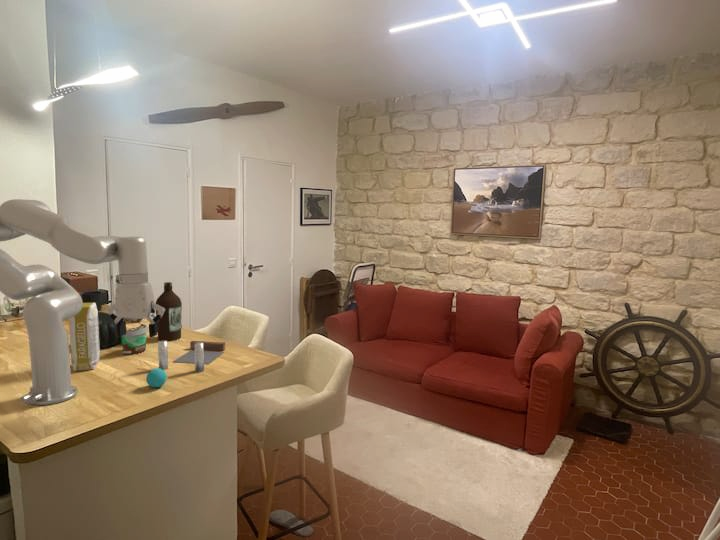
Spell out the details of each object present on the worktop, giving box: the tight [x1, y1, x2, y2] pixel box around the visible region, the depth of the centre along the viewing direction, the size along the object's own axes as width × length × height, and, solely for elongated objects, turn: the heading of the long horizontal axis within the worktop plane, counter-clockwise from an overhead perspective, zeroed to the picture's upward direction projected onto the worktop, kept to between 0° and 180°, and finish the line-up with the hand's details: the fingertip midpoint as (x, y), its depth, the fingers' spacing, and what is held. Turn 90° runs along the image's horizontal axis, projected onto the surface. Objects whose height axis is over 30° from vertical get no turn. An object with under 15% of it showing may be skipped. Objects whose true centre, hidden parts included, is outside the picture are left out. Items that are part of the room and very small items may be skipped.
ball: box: [145, 367, 168, 389], centre depth 143 cm, size 6×6×6 cm
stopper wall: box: [189, 340, 226, 352], centre depth 183 cm, size 2×14×3 cm, turn 85°
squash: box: [98, 311, 128, 349], centre depth 184 cm, size 14×15×15 cm
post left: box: [157, 340, 169, 371], centre depth 159 cm, size 3×3×10 cm
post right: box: [194, 342, 205, 373], centre depth 158 cm, size 3×3×10 cm
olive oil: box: [155, 281, 183, 342], centre depth 196 cm, size 11×11×25 cm
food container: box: [121, 323, 149, 356], centre depth 177 cm, size 12×6×10 cm, turn 168°
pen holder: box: [81, 290, 103, 312], centre depth 245 cm, size 9×9×10 cm
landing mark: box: [172, 349, 224, 365], centre depth 173 cm, size 14×14×1 cm
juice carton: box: [68, 303, 101, 372], centre depth 158 cm, size 9×8×24 cm
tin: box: [124, 318, 144, 323], centre depth 225 cm, size 15×3×8 cm, turn 58°
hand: (137, 335), depth 133 cm, fingers open, 9 cm apart
